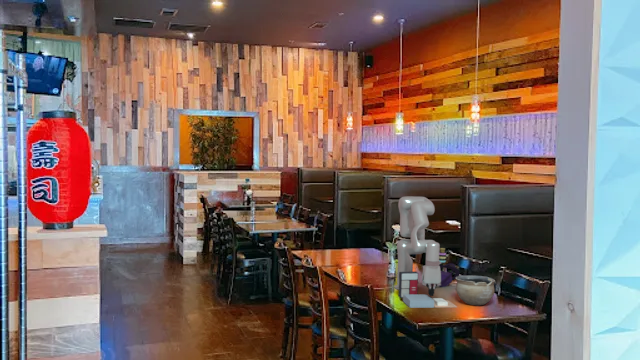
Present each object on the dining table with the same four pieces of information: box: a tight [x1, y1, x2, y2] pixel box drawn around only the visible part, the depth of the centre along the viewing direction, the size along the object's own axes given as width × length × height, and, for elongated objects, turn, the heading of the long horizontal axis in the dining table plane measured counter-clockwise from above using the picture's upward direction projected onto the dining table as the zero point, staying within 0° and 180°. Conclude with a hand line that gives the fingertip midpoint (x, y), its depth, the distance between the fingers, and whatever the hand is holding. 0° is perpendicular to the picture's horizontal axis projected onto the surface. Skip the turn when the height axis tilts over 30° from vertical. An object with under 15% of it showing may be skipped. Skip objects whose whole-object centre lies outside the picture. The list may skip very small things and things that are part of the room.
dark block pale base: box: [398, 271, 419, 299], centre depth 337 cm, size 11×4×15 cm, turn 101°
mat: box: [434, 299, 458, 308], centre depth 322 cm, size 14×13×1 cm
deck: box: [402, 293, 435, 309], centre depth 320 cm, size 14×14×4 cm
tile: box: [431, 297, 448, 306], centre depth 322 cm, size 9×6×2 cm, turn 7°
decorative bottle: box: [431, 247, 460, 288], centre depth 370 cm, size 22×21×25 cm
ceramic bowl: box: [455, 275, 496, 306], centre depth 326 cm, size 22×22×15 cm
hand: (431, 295), depth 321 cm, fingers closed
